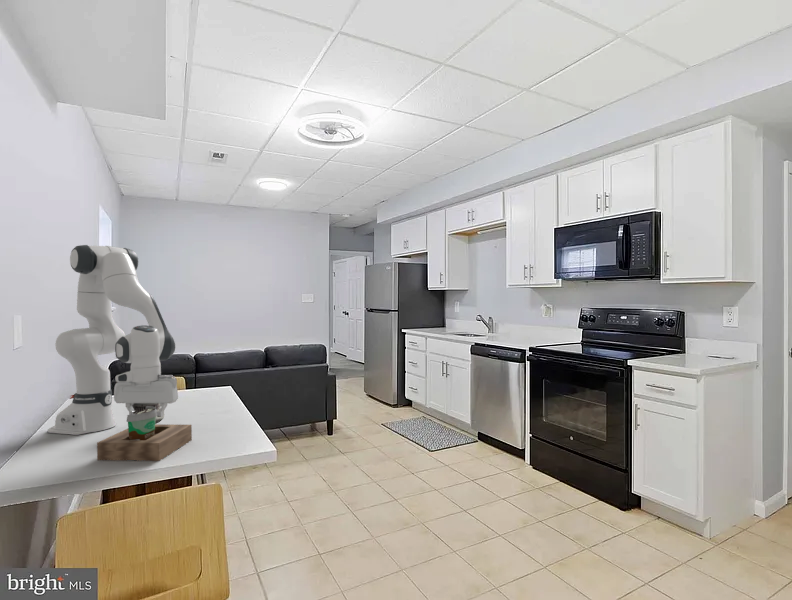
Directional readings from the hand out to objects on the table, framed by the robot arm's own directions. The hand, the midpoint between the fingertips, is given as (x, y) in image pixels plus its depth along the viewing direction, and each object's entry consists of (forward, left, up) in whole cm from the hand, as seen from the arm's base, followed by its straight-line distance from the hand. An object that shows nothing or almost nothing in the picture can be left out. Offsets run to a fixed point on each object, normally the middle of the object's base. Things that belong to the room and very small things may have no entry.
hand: (146, 416), depth 153 cm
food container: (0, 0, -8) cm, 8 cm away
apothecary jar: (-12, +19, -11) cm, 25 cm away
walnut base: (0, 0, -11) cm, 11 cm away
